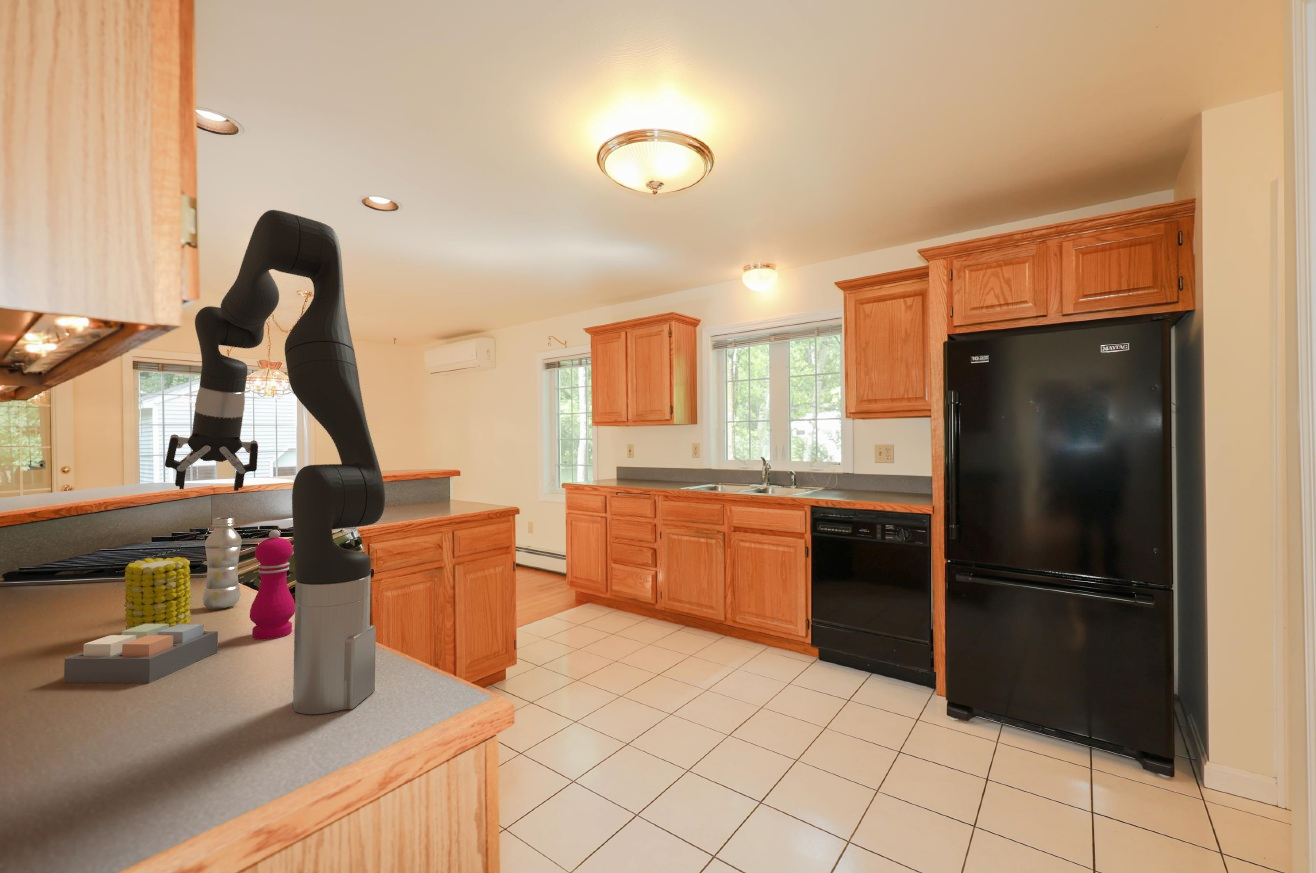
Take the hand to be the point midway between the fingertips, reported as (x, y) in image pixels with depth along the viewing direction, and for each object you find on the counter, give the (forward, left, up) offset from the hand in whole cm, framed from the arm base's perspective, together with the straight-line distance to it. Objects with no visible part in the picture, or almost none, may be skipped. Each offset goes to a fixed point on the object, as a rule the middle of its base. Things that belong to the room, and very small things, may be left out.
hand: (209, 488), depth 112 cm
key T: (-10, +23, -25) cm, 36 cm away
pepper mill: (-16, +4, -28) cm, 32 cm away
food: (+7, +3, -28) cm, 29 cm away
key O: (-10, +17, -25) cm, 32 cm away
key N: (-4, +23, -25) cm, 35 cm away
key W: (-4, +17, -25) cm, 31 cm away
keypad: (-7, +20, -27) cm, 35 cm away
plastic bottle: (+8, -14, -28) cm, 32 cm away
